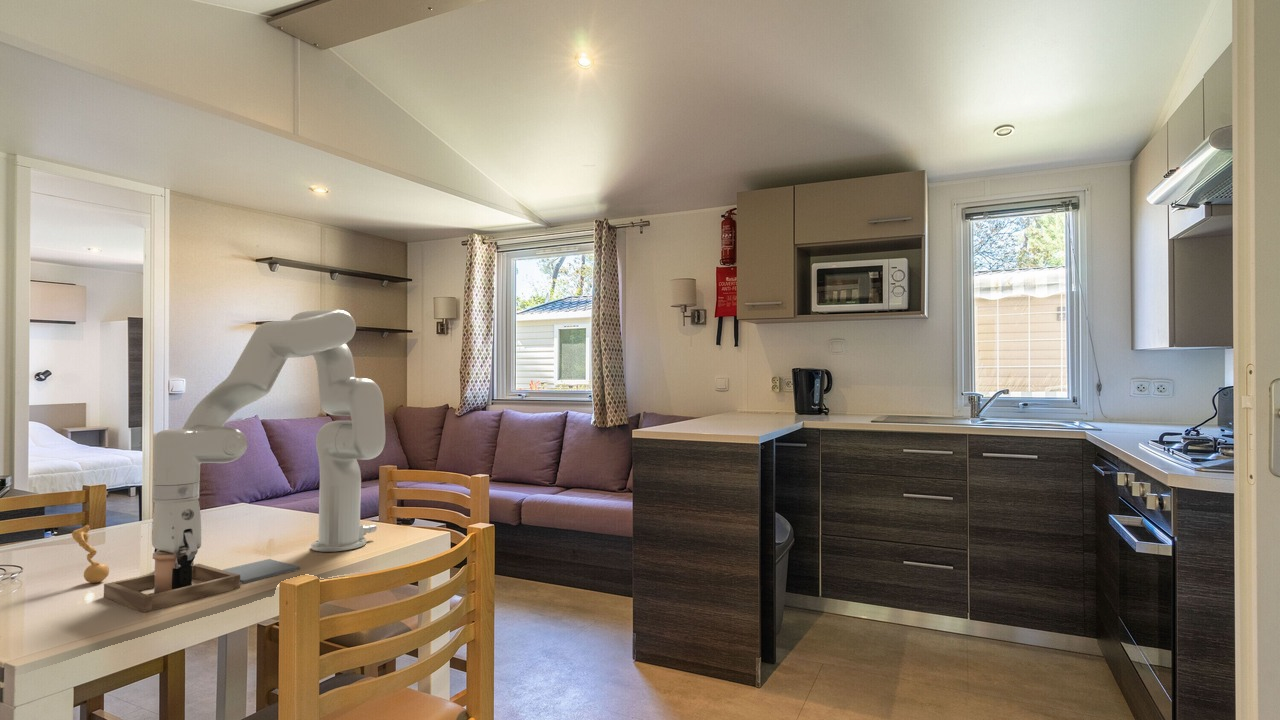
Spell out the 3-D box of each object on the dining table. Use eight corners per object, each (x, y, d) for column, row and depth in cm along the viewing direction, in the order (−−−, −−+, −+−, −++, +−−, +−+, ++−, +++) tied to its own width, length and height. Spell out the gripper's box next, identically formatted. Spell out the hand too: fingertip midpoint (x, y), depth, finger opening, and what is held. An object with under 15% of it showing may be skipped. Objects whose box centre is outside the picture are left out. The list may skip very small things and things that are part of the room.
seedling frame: (198, 575, 136) (198, 563, 136) (240, 587, 128) (240, 574, 128) (103, 597, 122) (104, 584, 122) (143, 612, 114) (144, 598, 114)
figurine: (111, 584, 130) (113, 525, 130) (72, 591, 125) (74, 530, 126) (105, 576, 135) (107, 519, 136) (67, 582, 131) (69, 523, 131)
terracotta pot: (183, 585, 129) (185, 544, 130) (201, 590, 126) (202, 549, 126) (144, 594, 123) (145, 552, 124) (161, 600, 120) (162, 556, 120)
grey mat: (269, 561, 147) (269, 558, 147) (299, 569, 141) (300, 566, 141) (212, 574, 136) (212, 571, 136) (243, 583, 130) (243, 580, 130)
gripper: (219, 493, 124) (217, 586, 124) (176, 486, 133) (173, 573, 132) (176, 499, 118) (173, 597, 117) (133, 491, 127) (130, 583, 126)
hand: (173, 584), depth 125 cm, fingers closed on terracotta pot, 6 cm apart
